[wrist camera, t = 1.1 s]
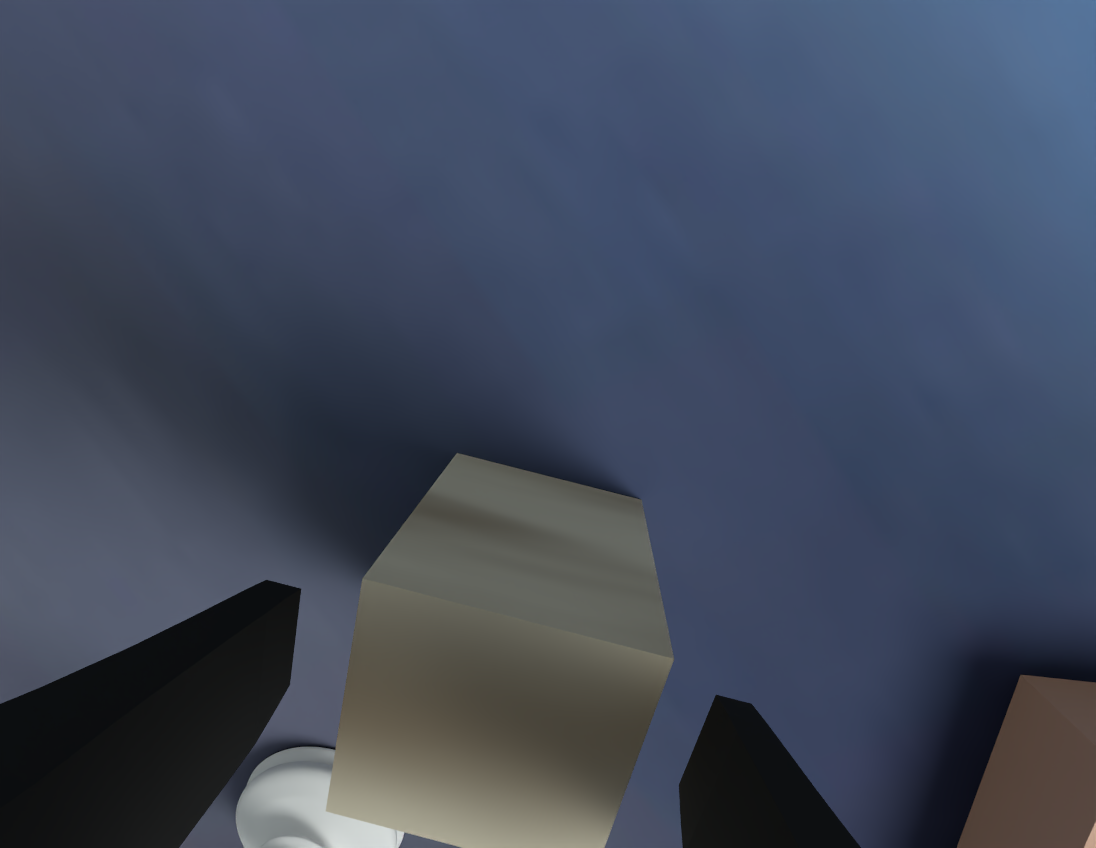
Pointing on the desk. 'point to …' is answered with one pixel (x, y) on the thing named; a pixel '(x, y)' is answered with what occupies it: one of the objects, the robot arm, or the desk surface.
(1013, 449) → the desk surface
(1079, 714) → the block
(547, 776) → the metal block
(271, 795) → the chess piece
